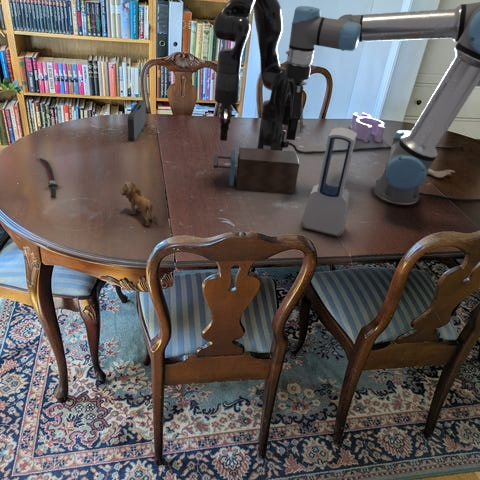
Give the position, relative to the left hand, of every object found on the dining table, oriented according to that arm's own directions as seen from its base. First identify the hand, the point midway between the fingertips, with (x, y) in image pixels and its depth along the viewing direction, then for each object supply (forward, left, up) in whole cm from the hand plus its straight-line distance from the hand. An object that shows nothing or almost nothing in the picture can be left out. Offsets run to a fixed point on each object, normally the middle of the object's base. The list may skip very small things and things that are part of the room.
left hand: (223, 139), depth 152 cm
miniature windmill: (-61, -34, -15) cm, 71 cm away
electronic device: (-12, +40, -15) cm, 44 cm away
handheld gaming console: (+7, -54, -15) cm, 56 cm away
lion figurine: (+34, +10, -15) cm, 39 cm away
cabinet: (-13, +8, -15) cm, 22 cm away
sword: (+51, -24, -15) cm, 58 cm away
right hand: (-18, +11, +4) cm, 21 cm away
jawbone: (-85, +24, -15) cm, 89 cm away
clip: (-88, -16, -15) cm, 91 cm away
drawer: (-8, +5, -14) cm, 17 cm away
